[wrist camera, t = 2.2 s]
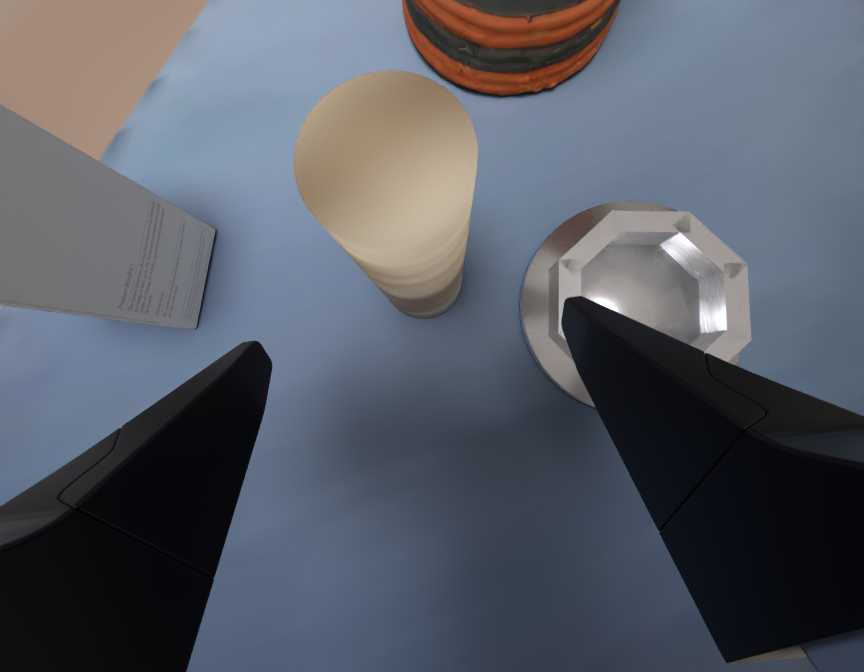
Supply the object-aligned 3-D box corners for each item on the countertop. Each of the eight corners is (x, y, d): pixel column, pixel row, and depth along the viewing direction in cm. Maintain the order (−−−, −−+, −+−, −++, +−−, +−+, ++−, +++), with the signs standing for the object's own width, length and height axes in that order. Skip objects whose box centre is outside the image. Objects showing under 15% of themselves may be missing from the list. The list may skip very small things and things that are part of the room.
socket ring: (780, 313, 20) (835, 303, 17) (626, 459, 19) (656, 474, 16) (622, 169, 21) (648, 139, 18) (476, 303, 21) (481, 293, 18)
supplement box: (122, 217, 23) (-282, 31, 10) (220, 229, 22) (-79, 49, 10) (97, 319, 22) (-368, 254, 10) (197, 334, 22) (-155, 287, 9)
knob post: (477, 282, 21) (517, 155, 8) (421, 334, 21) (376, 284, 8) (425, 229, 21) (391, 36, 9) (370, 279, 21) (257, 155, 9)
